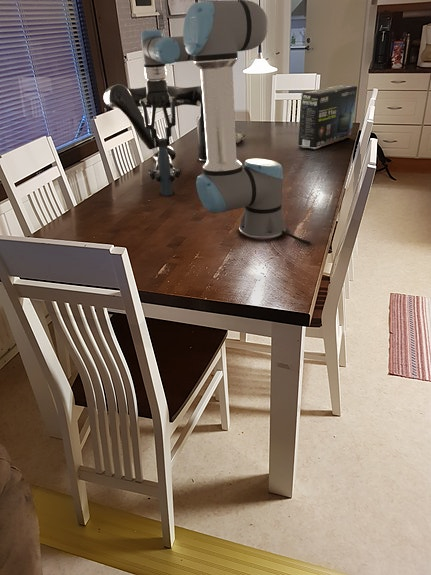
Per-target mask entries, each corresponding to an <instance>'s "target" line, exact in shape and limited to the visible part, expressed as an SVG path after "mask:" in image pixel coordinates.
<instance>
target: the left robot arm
mask: <svg viewBox="0 0 431 575" xmlns="http://www.w3.org/2000/svg"><path fill="white" fill-rule="evenodd" d="M167 90H168V94H169V96H171V97H175V98H176V103H175V108H177V107H179V106H195V107H199V110H200V111H199V115H198V116H197V117H196V130H197V148H198V149H197V150H198V161H200V162H205V163H206V162H207V152H206V139H205V125H204V112H203V99H202V86H201V85H198V86H189V87H182V86H175V85H167ZM146 95H147V89H146V86H143V87H135V88H131V87H130V88H129V87H127V86H125V85H124V84H120V83H117V84H114V85H111V86H109V87H108V88H107V89H106V90H105V91H104V93H103V101H104V103H105V104H106V106H108V107H109V108H111V109H113V110H120V111H121V112H122V113H123V114H124V115H125V116H126V117H127V119H128V120H129V122H130V123H131V126H132V127H133V130H134V132H135V133H136V135H137V137H138V138H139V139H140V140H141V142H142V143H143V144H144V146H145V147H146V148H147V149H148V150H155V149H157V148H156V147H155V143H154V138H153V139H152V137H151V131H150V129H147V128H146V127H145V123H144V116H143V112H142V111H141V110H140V108H142V105H141V104H140V100H143V99H144V98H146ZM147 108H149V109H151V104H150V103H149V102H148V101H147V105H146V109H147ZM157 109H162V107H158V108H157ZM166 109H171V103H170V101H169V99H168V101H167V103H166ZM157 139H161V137H160V136H159V135H158V134H157ZM166 149H167V151H168V154H169V158H170V168H171V180H172V182H174V181H175V180H176V179H179V178H180V177H181V176H182V175H183V174H182V173H183V172H182V167H178V168H175V166H174V162H173V161H174V160H175V159H176V157H177V154H176V151H175V149H174V148H173V147H171V145H170V146H166ZM158 152H159V151H158V150H157V151H156V152H155V153H153V155H152V162H153V163H154V164H155V169H154V170H153V169H148V170H147V172H148V177H149V178H150V179H151V180H152V181H155V182H157V183H160V180H159V170H158V160H157V159H158V158H157V157H158Z"/></svg>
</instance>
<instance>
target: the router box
mask: <svg viewBox="0 0 431 575" xmlns="http://www.w3.org/2000/svg"><path fill="white" fill-rule="evenodd" d="M357 93H358V86H356V85H350V84H339V85H338V84H337V85H334V86H328V87H324V88H318V89H314V90H309V91H304V92H301V93H300V109H299V110H300V111H299V124H298V137H297V146H298V145H302V146H307V147H317V146H320V145H323V144H325V143H328V142H331V141H333V140H336V139H338V138H341V137H344V136H347V135H351V136H352V133H353V132H352V131H353V125H354V115H355V109H356V99H357ZM311 151H313V150H312V149H311Z"/></svg>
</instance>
